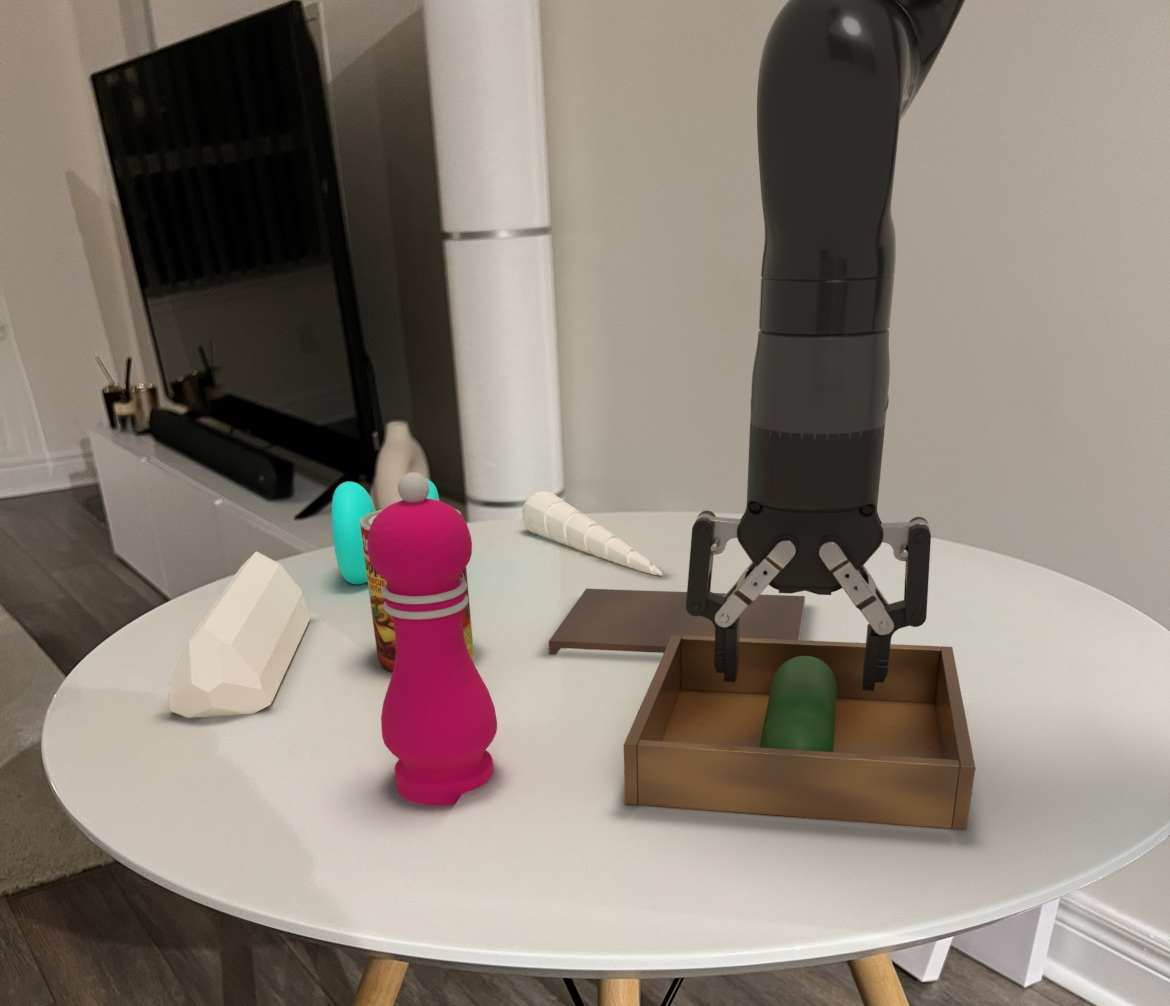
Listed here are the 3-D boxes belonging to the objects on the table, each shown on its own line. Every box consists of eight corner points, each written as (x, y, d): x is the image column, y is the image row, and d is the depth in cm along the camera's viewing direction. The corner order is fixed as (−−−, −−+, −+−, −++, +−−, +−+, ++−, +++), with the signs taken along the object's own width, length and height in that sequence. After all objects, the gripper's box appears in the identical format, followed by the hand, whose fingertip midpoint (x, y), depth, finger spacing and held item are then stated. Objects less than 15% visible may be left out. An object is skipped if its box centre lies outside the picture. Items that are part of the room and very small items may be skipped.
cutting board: (804, 611, 98) (805, 595, 98) (795, 670, 86) (796, 652, 86) (586, 603, 103) (585, 588, 102) (549, 658, 91) (548, 641, 90)
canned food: (358, 667, 90) (338, 522, 85) (424, 638, 96) (409, 500, 90) (428, 686, 86) (412, 535, 81) (493, 655, 92) (481, 511, 86)
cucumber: (772, 703, 78) (774, 645, 76) (835, 706, 77) (839, 647, 75) (755, 795, 66) (757, 729, 64) (829, 800, 65) (834, 734, 63)
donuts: (442, 592, 107) (432, 489, 103) (339, 598, 107) (324, 495, 102) (447, 563, 116) (437, 467, 111) (351, 568, 116) (338, 472, 111)
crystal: (283, 674, 79) (328, 575, 100) (185, 631, 77) (253, 540, 98) (247, 757, 82) (298, 644, 103) (151, 718, 80) (224, 611, 101)
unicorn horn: (629, 587, 106) (628, 538, 104) (520, 535, 125) (517, 493, 123) (670, 578, 108) (670, 530, 106) (557, 529, 127) (555, 487, 125)
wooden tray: (944, 712, 78) (952, 646, 76) (964, 845, 62) (975, 766, 60) (671, 697, 82) (671, 634, 80) (624, 818, 66) (623, 744, 64)
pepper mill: (424, 755, 75) (388, 457, 66) (520, 769, 73) (497, 461, 63) (368, 804, 69) (321, 483, 60) (471, 821, 67) (438, 490, 58)
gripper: (682, 426, 60) (678, 698, 68) (954, 429, 57) (918, 713, 65) (699, 404, 67) (694, 655, 74) (944, 406, 64) (913, 667, 71)
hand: (799, 682), depth 69 cm, fingers open, 8 cm apart
